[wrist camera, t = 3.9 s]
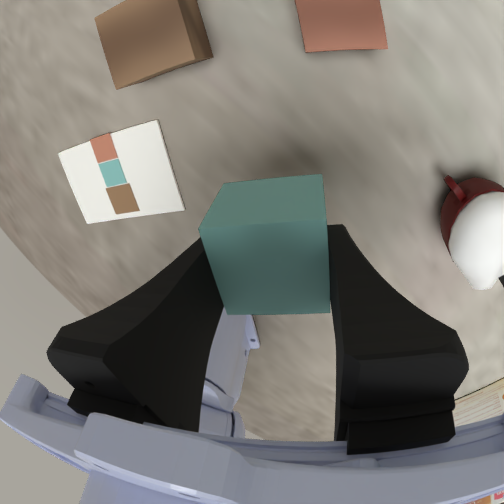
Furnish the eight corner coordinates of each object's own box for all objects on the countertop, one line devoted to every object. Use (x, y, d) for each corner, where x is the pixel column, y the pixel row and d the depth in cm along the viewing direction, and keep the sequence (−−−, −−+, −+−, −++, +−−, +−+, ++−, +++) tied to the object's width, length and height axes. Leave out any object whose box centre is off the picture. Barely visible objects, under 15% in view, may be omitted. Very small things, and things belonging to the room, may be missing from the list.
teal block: (327, 255, 14) (330, 312, 11) (243, 260, 15) (227, 314, 12) (322, 173, 12) (326, 219, 9) (223, 183, 13) (198, 229, 10)
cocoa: (417, 168, 18) (489, 289, 8) (490, 141, 15) (599, 235, 6) (444, 271, 22) (481, 398, 12) (505, 247, 19) (564, 361, 9)
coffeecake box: (432, 422, 40) (437, 523, 24) (423, 410, 37) (428, 525, 22) (509, 389, 32) (526, 492, 17) (509, 373, 30) (531, 490, 14)
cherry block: (372, 49, 14) (387, 49, 11) (305, 52, 15) (306, 52, 12) (361, -11, 11) (373, -24, 9) (292, -8, 12) (290, -21, 10)
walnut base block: (214, 57, 16) (195, 58, 13) (144, 81, 17) (116, 89, 14) (193, -11, 13) (171, -21, 10) (125, 18, 14) (94, 18, 12)
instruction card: (185, 209, 22) (184, 211, 22) (88, 222, 25) (86, 224, 25) (157, 117, 18) (155, 119, 18) (59, 151, 21) (56, 152, 20)
